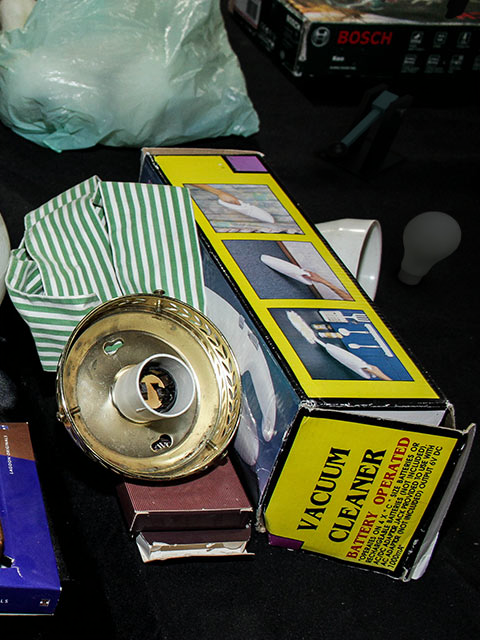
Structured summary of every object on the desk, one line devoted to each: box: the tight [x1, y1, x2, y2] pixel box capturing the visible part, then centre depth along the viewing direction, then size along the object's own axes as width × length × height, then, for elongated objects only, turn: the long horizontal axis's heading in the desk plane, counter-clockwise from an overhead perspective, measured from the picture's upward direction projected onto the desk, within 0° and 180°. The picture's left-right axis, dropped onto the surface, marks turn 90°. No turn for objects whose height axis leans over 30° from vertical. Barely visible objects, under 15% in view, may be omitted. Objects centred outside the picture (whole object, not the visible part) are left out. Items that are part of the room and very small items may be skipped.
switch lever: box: [323, 90, 400, 164], centre depth 129 cm, size 13×3×3 cm
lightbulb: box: [397, 211, 462, 286], centre depth 110 cm, size 6×6×11 cm
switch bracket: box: [318, 83, 415, 181], centre depth 131 cm, size 10×8×12 cm
